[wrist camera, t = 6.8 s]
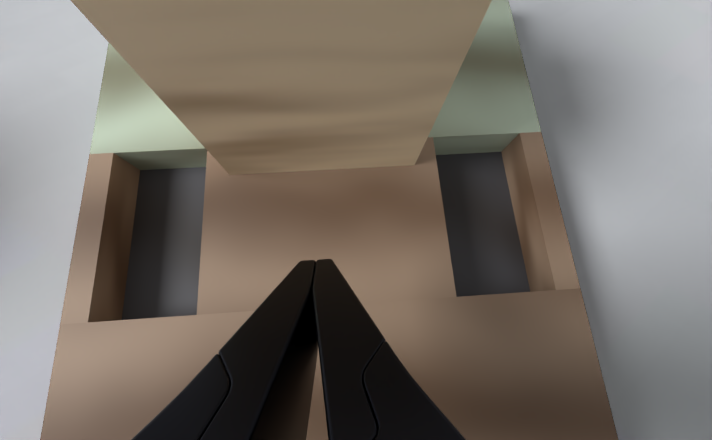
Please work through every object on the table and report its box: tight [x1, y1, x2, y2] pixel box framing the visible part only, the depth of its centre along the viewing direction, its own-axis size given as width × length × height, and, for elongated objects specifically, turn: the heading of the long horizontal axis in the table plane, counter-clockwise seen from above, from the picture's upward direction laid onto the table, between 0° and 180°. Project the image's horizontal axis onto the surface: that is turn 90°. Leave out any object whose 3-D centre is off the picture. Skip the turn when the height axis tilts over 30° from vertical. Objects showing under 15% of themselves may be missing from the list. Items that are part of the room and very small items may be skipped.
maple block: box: [71, 0, 492, 175], centre depth 11 cm, size 8×8×8 cm
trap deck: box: [40, 0, 618, 440], centre depth 14 cm, size 24×20×2 cm
